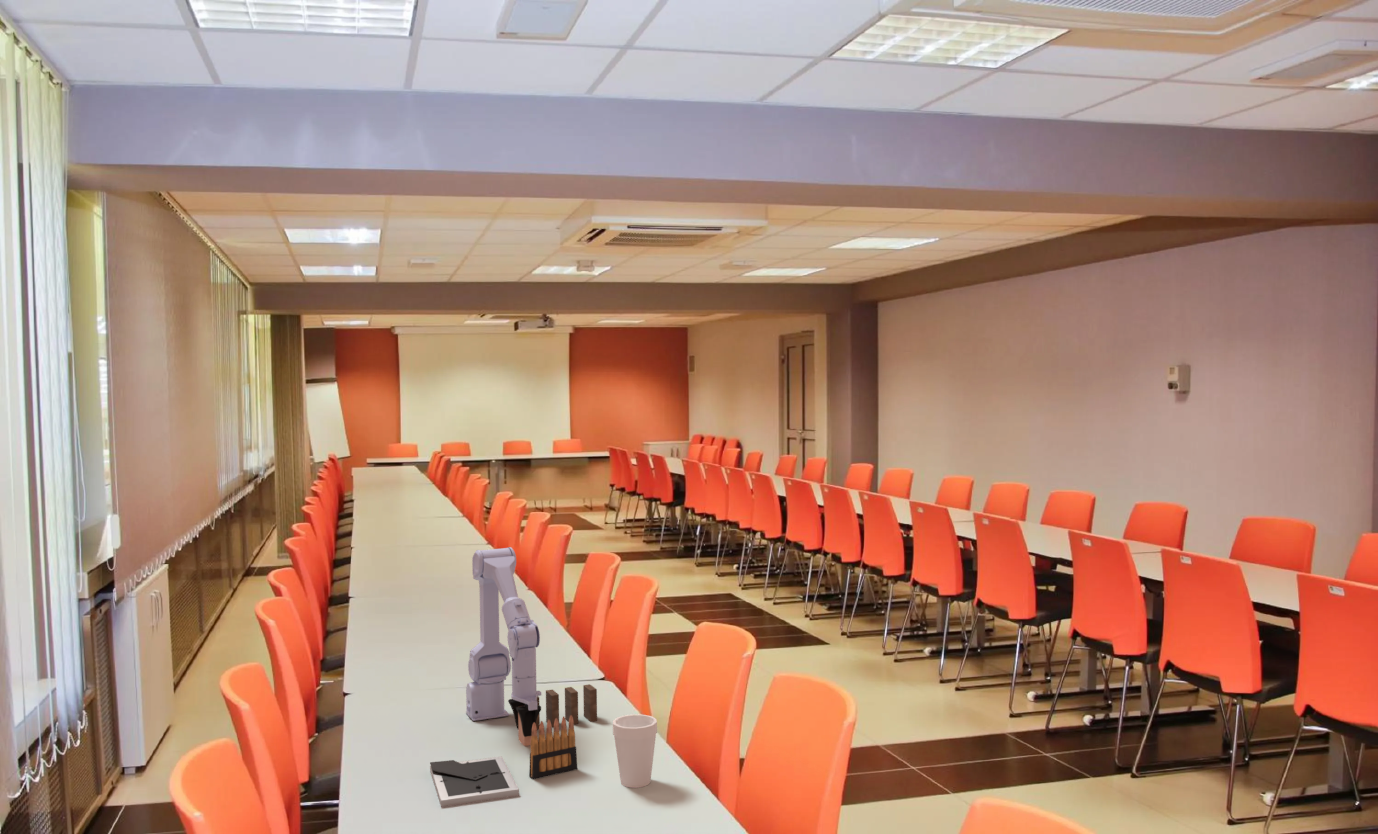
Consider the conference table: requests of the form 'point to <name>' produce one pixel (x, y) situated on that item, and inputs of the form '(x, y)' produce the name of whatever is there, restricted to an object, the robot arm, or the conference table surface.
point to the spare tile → (524, 740)
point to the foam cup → (635, 748)
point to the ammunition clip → (552, 749)
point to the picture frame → (472, 781)
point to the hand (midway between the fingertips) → (524, 732)
